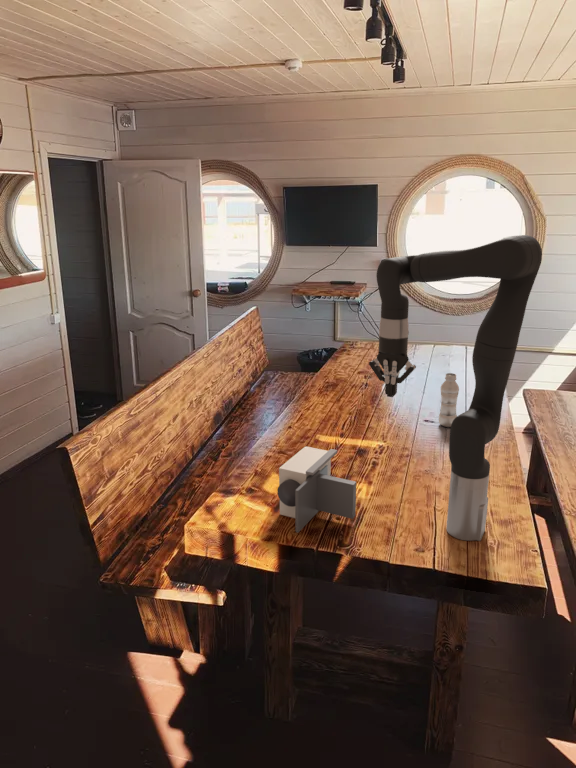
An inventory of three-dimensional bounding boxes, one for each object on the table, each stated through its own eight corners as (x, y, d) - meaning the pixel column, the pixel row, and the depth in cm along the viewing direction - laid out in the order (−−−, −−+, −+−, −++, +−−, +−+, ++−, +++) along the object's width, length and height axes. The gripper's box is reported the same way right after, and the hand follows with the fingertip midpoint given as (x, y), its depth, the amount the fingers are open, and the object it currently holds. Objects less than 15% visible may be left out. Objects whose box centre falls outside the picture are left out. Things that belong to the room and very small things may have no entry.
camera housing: (336, 497, 176) (337, 450, 172) (309, 526, 161) (309, 475, 157) (305, 489, 181) (305, 443, 176) (276, 517, 166) (275, 468, 161)
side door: (355, 518, 163) (356, 478, 159) (335, 543, 152) (336, 500, 148) (317, 509, 168) (317, 469, 164) (295, 531, 157) (295, 490, 153)
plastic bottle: (455, 429, 224) (460, 377, 217) (437, 427, 226) (440, 376, 219) (457, 423, 229) (461, 372, 223) (438, 421, 231) (442, 371, 225)
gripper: (364, 334, 160) (363, 396, 166) (413, 339, 154) (410, 404, 160) (374, 328, 167) (372, 389, 172) (422, 333, 161) (418, 395, 166)
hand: (390, 396), depth 166 cm, fingers closed
